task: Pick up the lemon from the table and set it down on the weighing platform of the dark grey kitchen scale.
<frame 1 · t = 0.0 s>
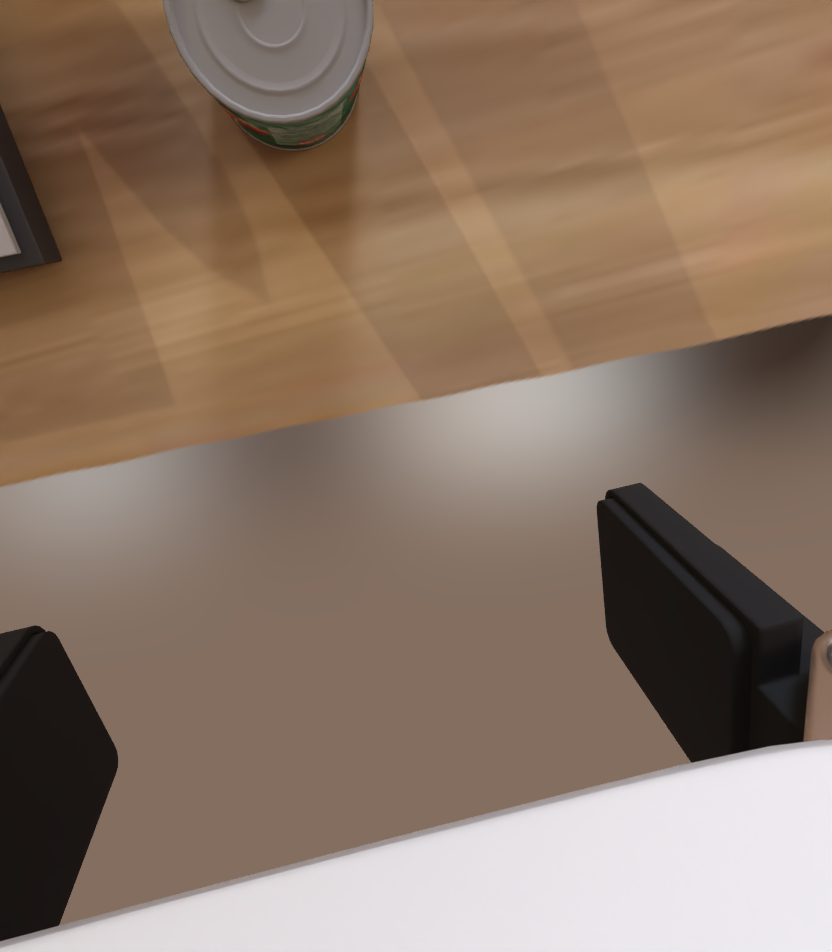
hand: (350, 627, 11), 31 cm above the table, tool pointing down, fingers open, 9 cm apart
canned tomato: (286, 70, 34), on the table
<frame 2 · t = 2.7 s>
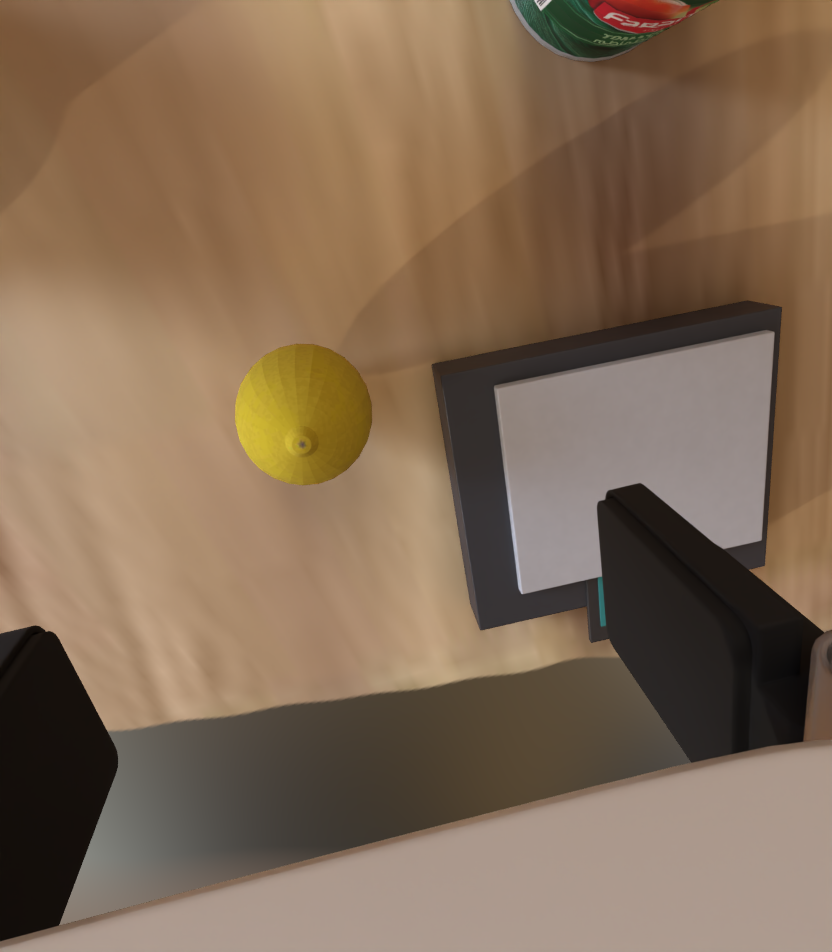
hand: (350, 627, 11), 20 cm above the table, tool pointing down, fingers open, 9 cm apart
lemon: (307, 387, 30), on the table
scale: (599, 462, 33), on the table
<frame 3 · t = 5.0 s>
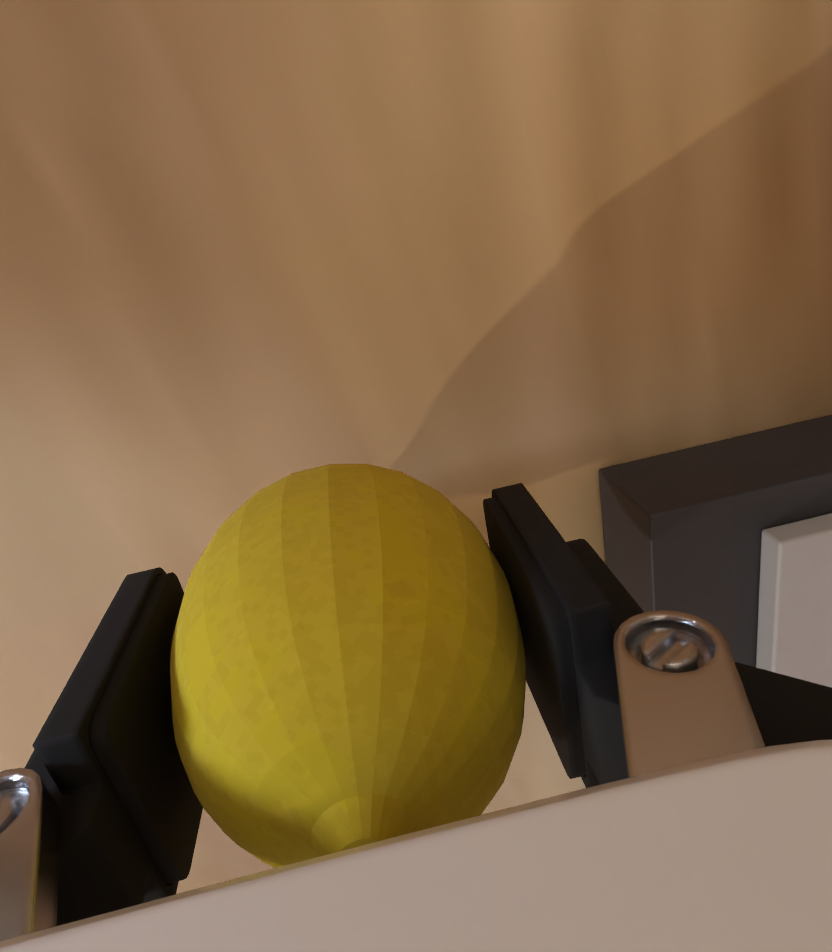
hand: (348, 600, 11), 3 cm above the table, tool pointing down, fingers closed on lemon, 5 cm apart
lemon: (342, 524, 14), on the table, touching gripper
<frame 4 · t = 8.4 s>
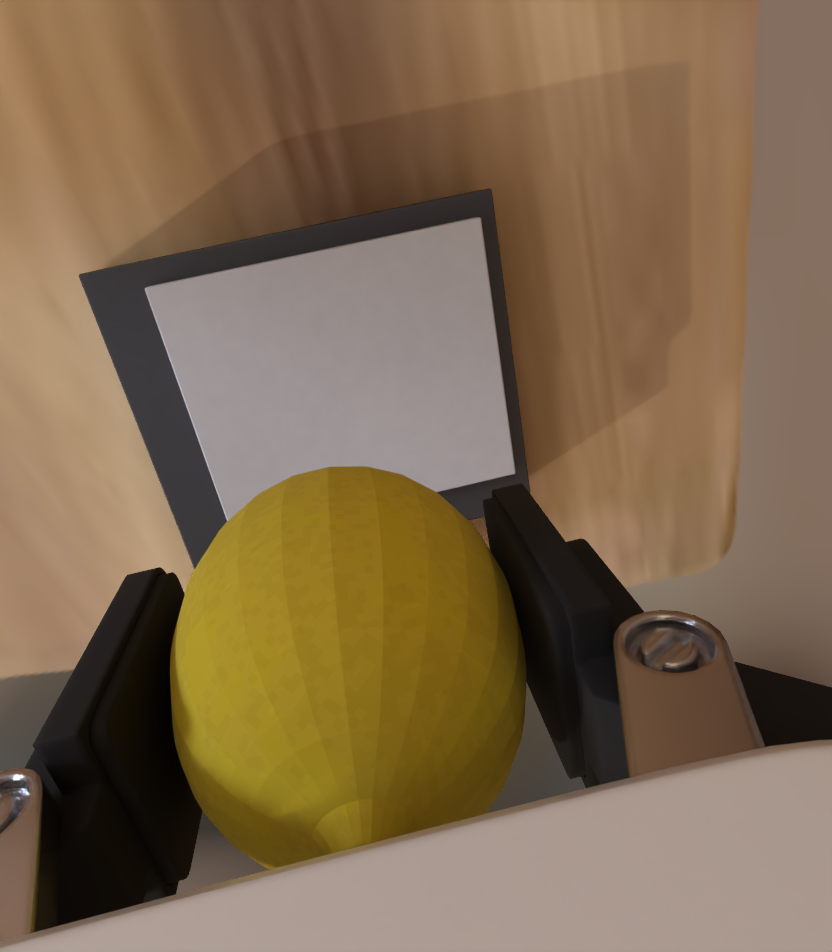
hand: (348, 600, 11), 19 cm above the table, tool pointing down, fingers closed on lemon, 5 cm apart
lemon: (343, 525, 14), point 16 cm above the table, touching gripper
scale: (331, 389, 29), on the table
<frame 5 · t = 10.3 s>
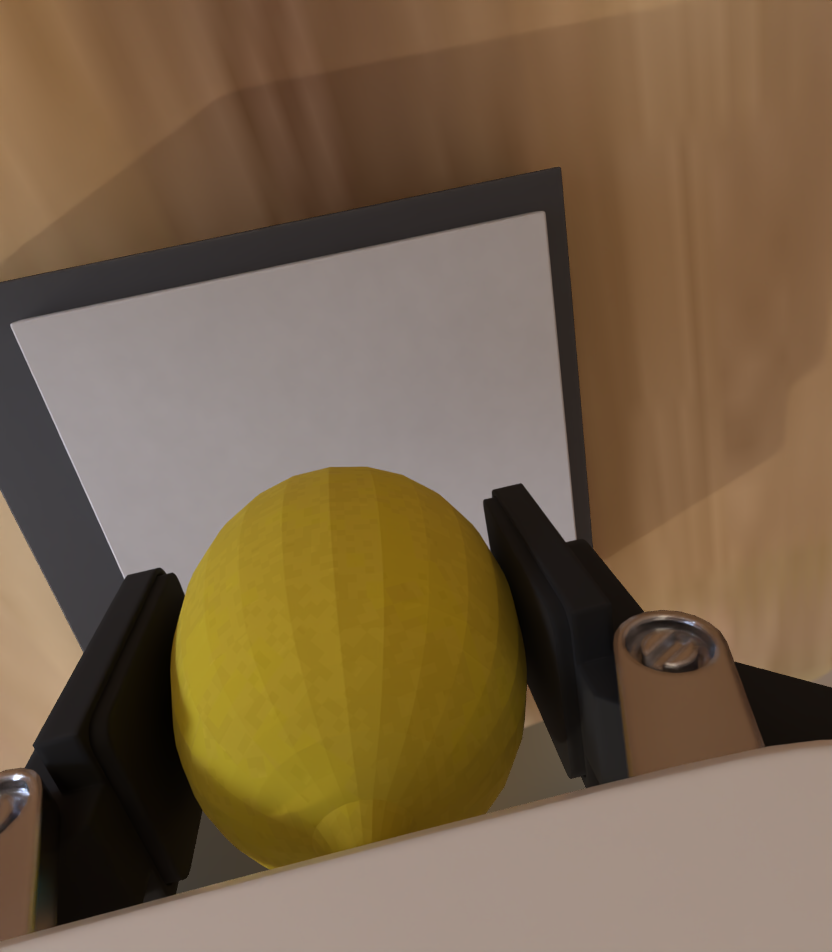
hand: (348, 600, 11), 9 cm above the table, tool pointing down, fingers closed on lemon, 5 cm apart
lemon: (343, 526, 14), point 6 cm above the table, touching gripper
scale: (315, 459, 20), on the table
when the fingers open (6 cm above the table, at t = 11.6 s): lemon stays where it is, resting on scale.
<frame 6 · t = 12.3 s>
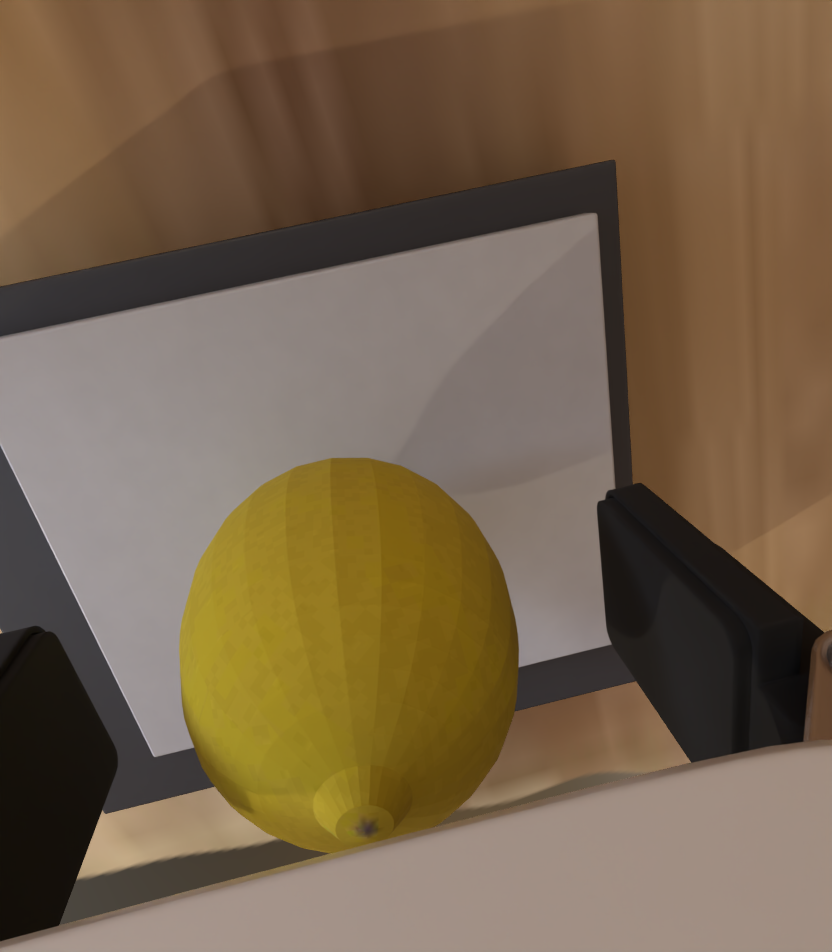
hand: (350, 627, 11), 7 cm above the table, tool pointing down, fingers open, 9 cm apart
lemon: (345, 517, 15), point 3 cm above the table, touching scale
scale: (320, 496, 17), on the table
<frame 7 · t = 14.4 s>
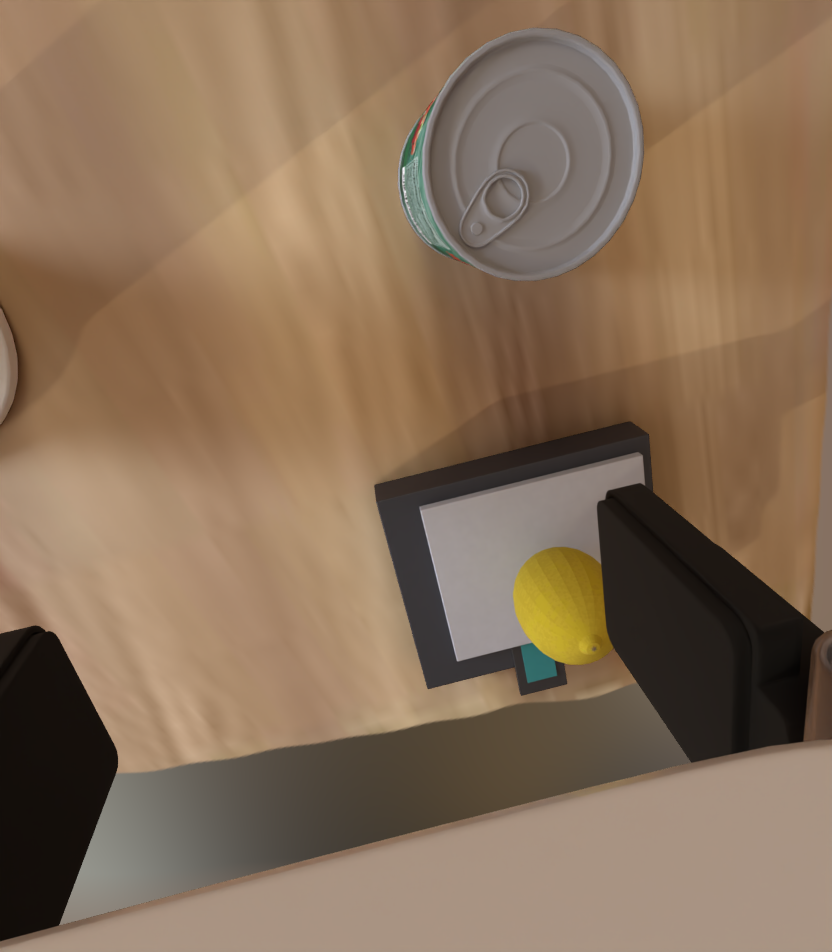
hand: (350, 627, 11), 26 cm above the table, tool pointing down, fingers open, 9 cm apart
lemon: (543, 562, 37), point 3 cm above the table, touching scale
canned tomato: (473, 180, 32), on the table
scale: (520, 550, 40), on the table
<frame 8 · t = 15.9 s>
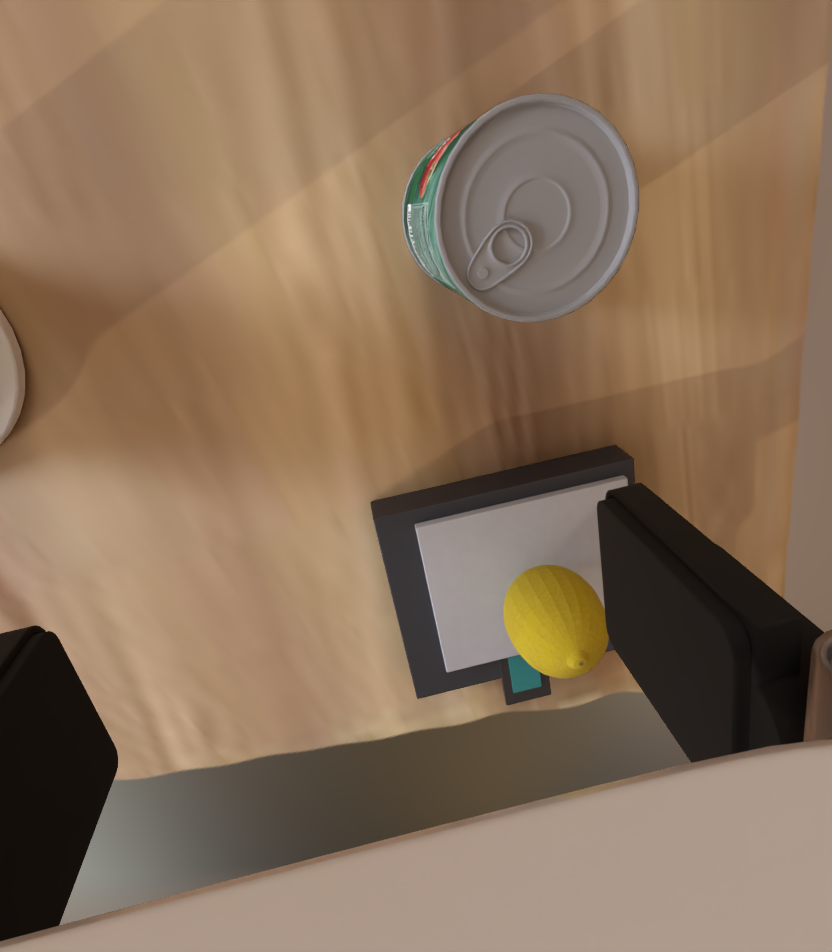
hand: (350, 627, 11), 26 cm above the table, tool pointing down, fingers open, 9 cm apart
lemon: (531, 578, 39), point 3 cm above the table, touching scale
canned tomato: (473, 215, 33), on the table
scale: (508, 566, 42), on the table
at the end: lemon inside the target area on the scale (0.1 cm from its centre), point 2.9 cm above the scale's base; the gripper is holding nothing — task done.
